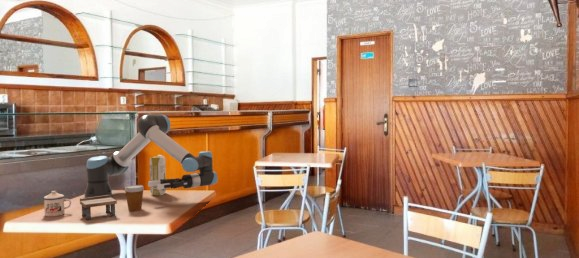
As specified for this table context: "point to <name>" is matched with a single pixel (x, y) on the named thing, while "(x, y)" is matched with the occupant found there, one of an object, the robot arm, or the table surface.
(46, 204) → the teacup with lid
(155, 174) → the juice carton
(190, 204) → the table surface
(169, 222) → the table surface
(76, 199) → the table surface
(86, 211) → the peg shelf
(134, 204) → the disposable coffee cup
